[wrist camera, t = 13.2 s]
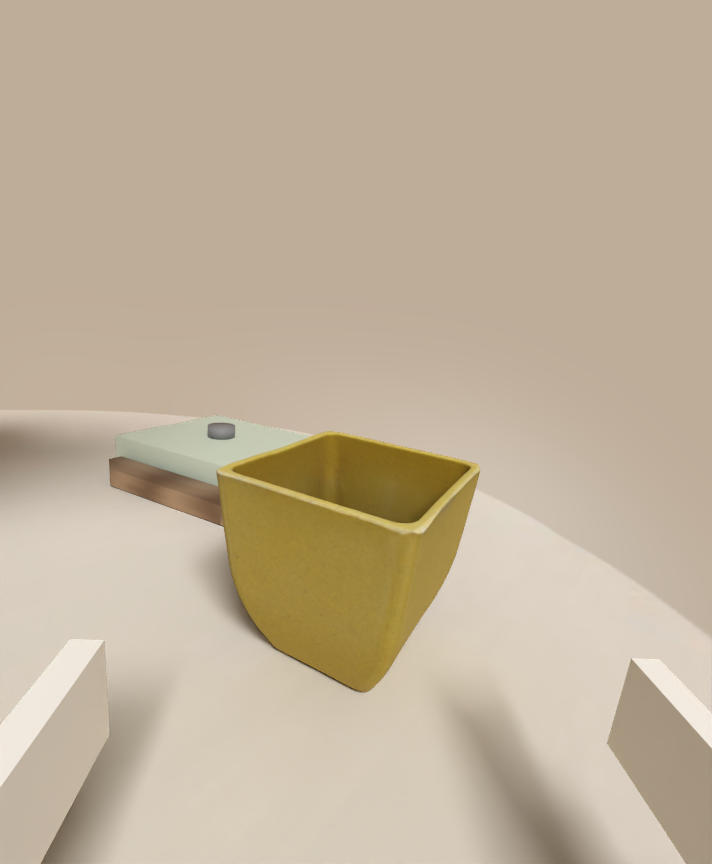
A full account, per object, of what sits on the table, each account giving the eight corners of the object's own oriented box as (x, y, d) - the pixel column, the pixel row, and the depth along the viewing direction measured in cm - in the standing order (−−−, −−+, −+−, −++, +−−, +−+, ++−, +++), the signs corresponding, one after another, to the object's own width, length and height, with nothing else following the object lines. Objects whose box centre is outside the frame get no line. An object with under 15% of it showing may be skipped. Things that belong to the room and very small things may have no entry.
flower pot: (387, 763, 15) (419, 530, 13) (208, 658, 19) (210, 465, 17) (456, 625, 23) (483, 463, 21) (317, 570, 27) (328, 429, 25)
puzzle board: (110, 485, 36) (109, 459, 36) (234, 448, 50) (235, 428, 49) (386, 584, 26) (391, 550, 25) (451, 504, 39) (454, 480, 39)
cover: (116, 459, 38) (114, 424, 37) (216, 434, 48) (217, 406, 48) (227, 495, 33) (228, 454, 32) (312, 458, 43) (315, 427, 42)
